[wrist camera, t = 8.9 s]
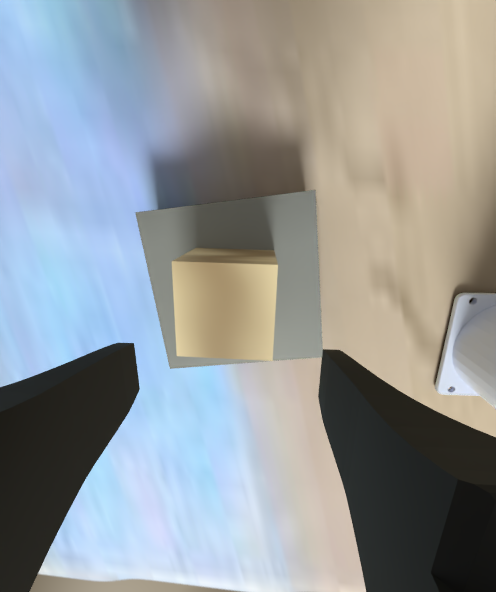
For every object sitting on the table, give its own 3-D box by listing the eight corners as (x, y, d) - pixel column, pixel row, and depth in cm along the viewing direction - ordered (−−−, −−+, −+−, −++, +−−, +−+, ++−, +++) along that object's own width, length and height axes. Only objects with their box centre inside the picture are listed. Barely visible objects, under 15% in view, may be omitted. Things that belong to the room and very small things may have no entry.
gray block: (305, 193, 19) (315, 189, 15) (312, 331, 22) (322, 357, 18) (160, 211, 20) (135, 212, 16) (186, 341, 23) (169, 368, 19)
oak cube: (274, 250, 16) (277, 264, 12) (270, 323, 17) (272, 360, 13) (196, 247, 16) (171, 261, 12) (198, 320, 18) (176, 356, 13)
